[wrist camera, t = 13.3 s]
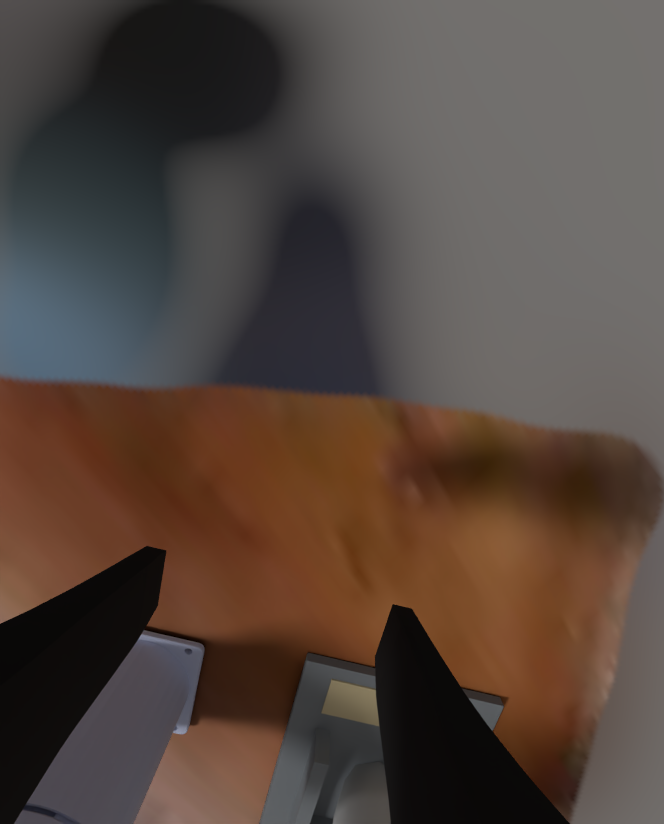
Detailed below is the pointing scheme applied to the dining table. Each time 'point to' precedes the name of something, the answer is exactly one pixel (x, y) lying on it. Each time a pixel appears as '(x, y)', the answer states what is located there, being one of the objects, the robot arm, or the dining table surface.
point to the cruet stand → (333, 739)
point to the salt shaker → (364, 796)
